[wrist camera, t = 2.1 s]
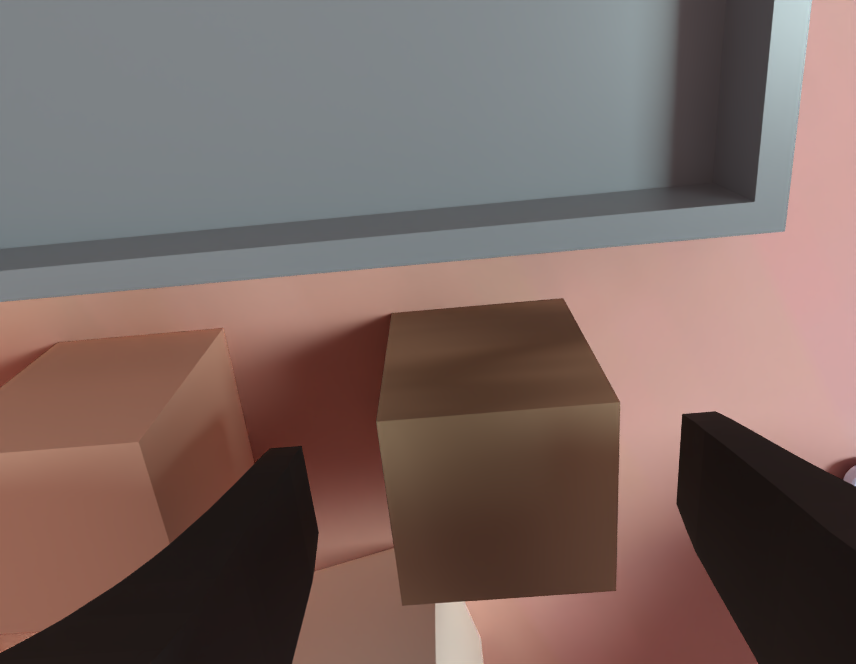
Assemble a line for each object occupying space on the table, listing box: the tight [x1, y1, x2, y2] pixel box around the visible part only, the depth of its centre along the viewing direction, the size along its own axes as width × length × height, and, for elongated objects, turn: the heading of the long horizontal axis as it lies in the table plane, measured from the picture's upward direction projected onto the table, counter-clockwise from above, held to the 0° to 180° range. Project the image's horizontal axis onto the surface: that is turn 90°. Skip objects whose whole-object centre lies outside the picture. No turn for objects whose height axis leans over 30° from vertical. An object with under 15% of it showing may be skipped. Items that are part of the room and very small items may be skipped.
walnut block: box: [376, 298, 620, 606], centre depth 14 cm, size 4×4×5 cm
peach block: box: [0, 328, 255, 635], centre depth 14 cm, size 4×4×5 cm
